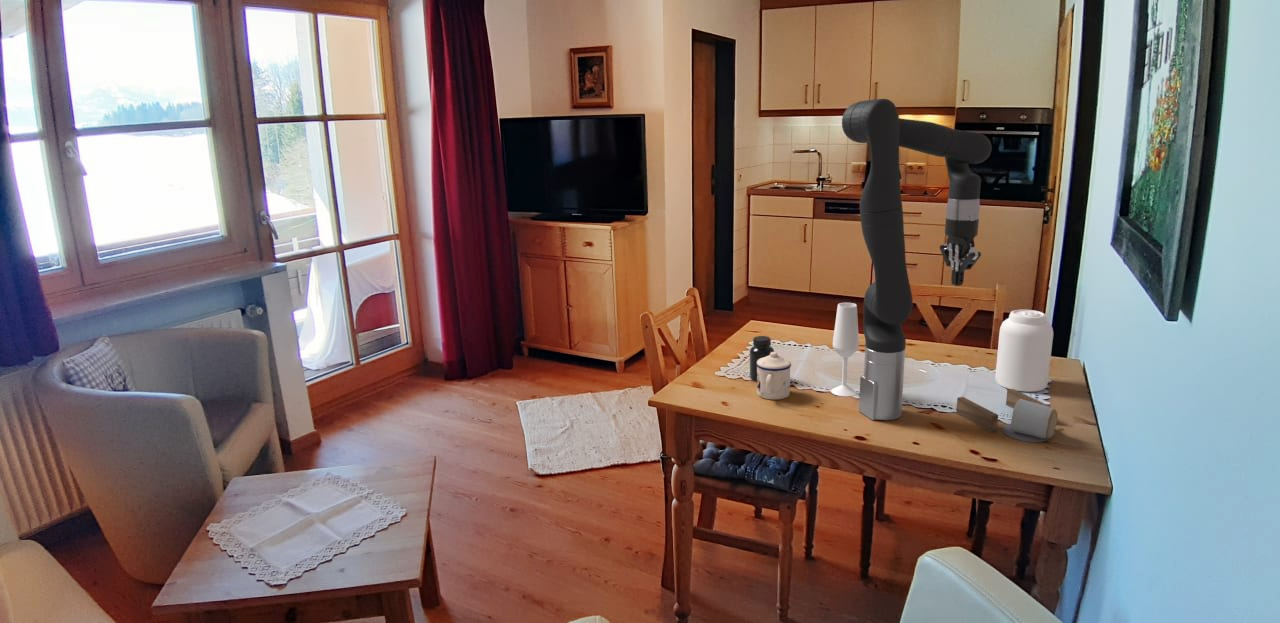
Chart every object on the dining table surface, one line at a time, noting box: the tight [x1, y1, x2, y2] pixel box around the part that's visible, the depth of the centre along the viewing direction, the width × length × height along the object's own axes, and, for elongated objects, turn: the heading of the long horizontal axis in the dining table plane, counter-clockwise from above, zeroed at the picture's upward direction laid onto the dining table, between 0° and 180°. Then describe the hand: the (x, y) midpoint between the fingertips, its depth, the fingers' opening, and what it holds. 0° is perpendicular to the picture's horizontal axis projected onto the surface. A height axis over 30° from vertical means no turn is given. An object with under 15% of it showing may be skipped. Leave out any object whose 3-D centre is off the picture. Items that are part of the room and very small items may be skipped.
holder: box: [955, 389, 1051, 433], centre depth 178 cm, size 16×12×4 cm
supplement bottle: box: [749, 335, 775, 383], centre depth 209 cm, size 7×7×12 cm
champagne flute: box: [830, 302, 860, 397], centre depth 195 cm, size 7×7×24 cm
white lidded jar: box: [994, 308, 1054, 393], centre depth 196 cm, size 12×12×20 cm
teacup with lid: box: [756, 351, 792, 401], centre depth 196 cm, size 12×9×12 cm
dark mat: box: [1001, 423, 1051, 443], centre depth 170 cm, size 10×10×1 cm
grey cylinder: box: [1010, 399, 1059, 440], centre depth 169 cm, size 11×8×8 cm
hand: (957, 284), depth 188 cm, fingers closed
